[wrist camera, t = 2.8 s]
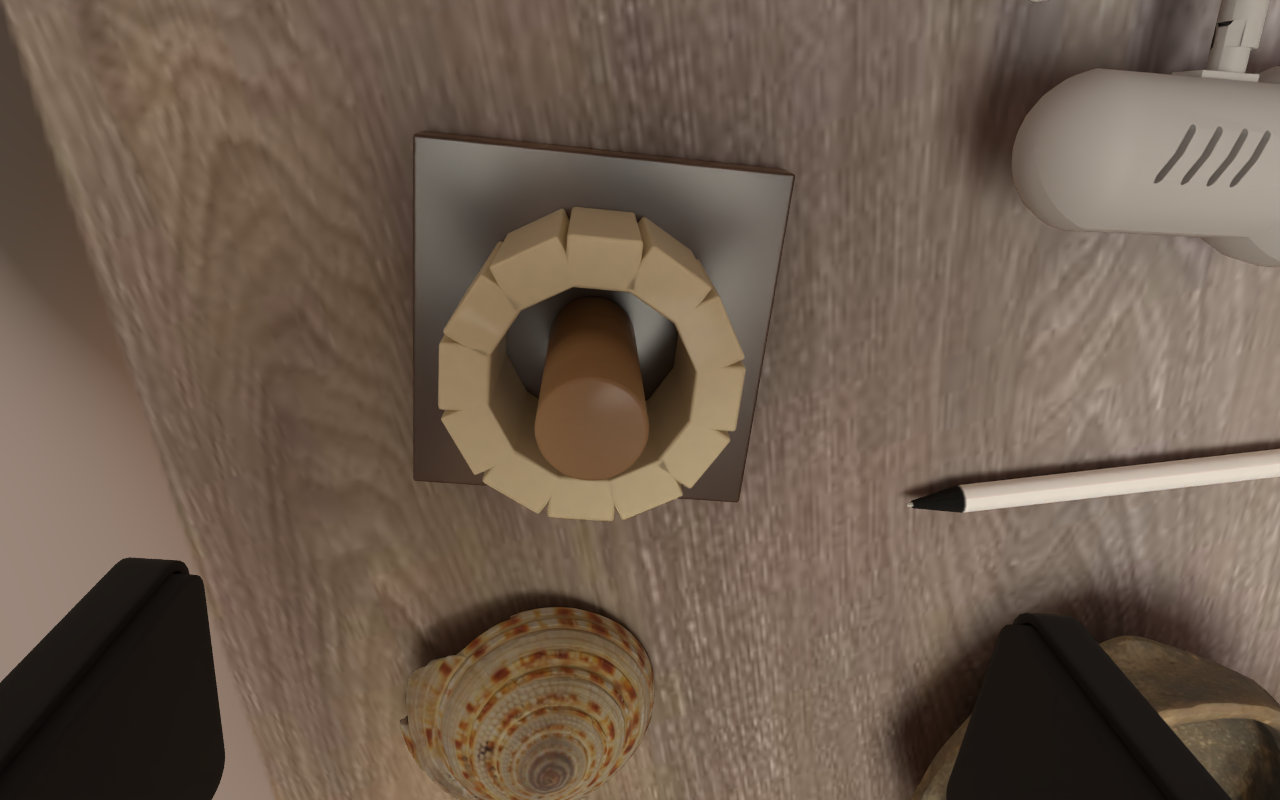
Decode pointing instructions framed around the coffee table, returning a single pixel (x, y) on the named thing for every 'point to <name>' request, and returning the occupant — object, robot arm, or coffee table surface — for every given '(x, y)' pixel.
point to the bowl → (1182, 718)
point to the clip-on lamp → (1164, 148)
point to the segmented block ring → (505, 412)
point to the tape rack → (588, 293)
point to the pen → (1103, 482)
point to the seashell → (531, 708)
